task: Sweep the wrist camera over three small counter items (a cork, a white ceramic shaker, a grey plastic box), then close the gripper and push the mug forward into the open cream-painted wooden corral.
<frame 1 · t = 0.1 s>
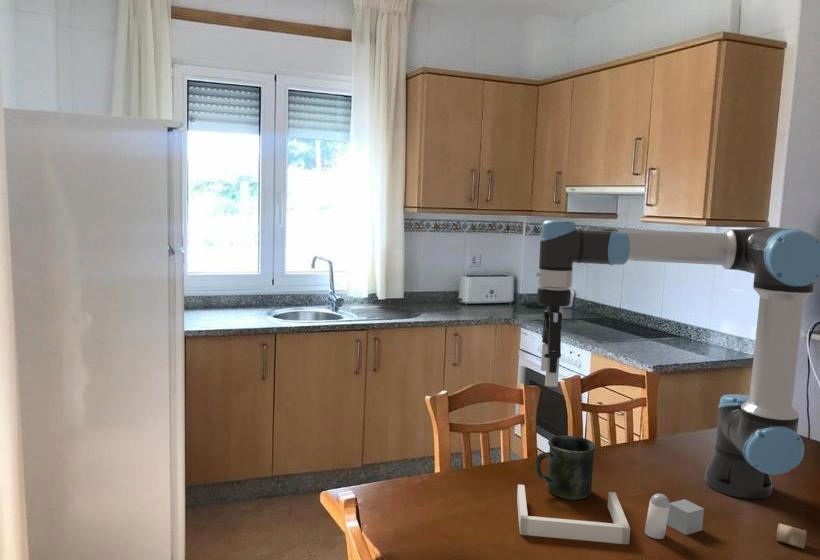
hand: (548, 378, 158), 28 cm above the table, fingers open, 13 cm apart
mug: (562, 492, 163), on the table
grey box: (684, 527, 147), on the table
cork: (777, 531, 143), point 2 cm above the table, tilted 90°
shaker: (654, 533, 143), on the table
corral: (569, 520, 148), on the table
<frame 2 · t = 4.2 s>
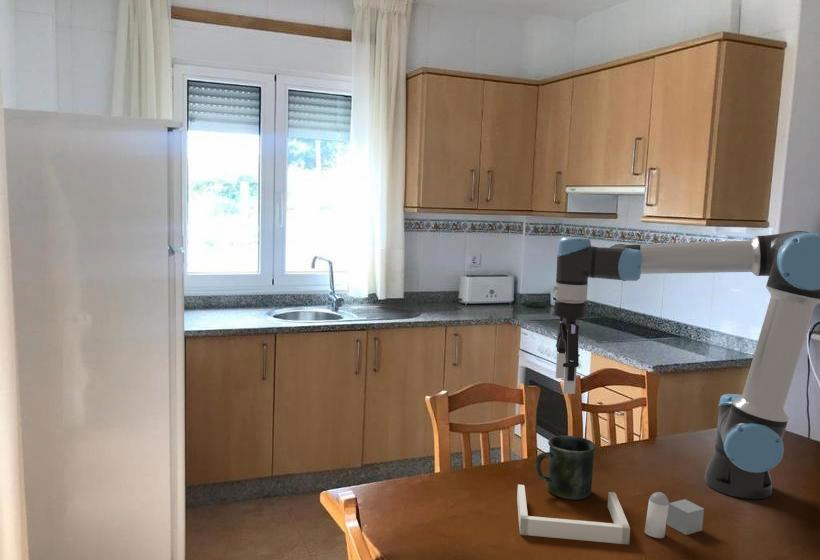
hand: (564, 385, 168), 24 cm above the table, fingers open, 13 cm apart
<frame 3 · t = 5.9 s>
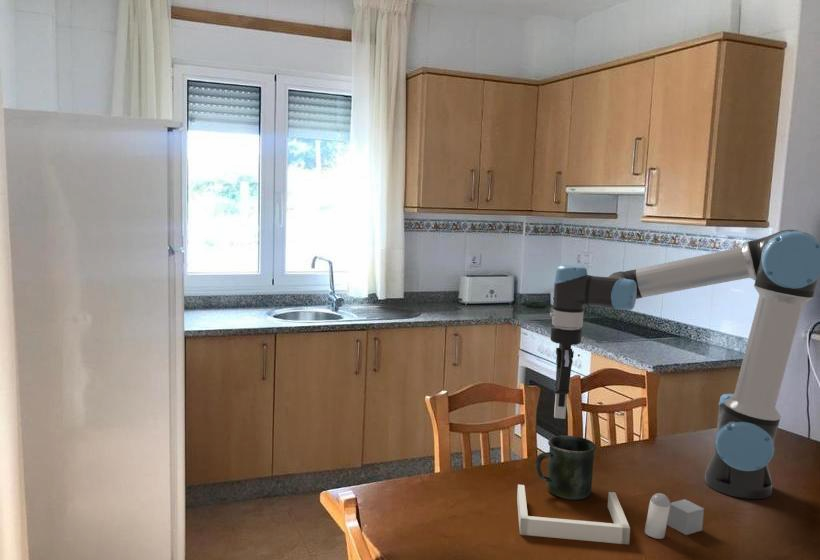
hand: (559, 417, 174), 14 cm above the table, fingers closed
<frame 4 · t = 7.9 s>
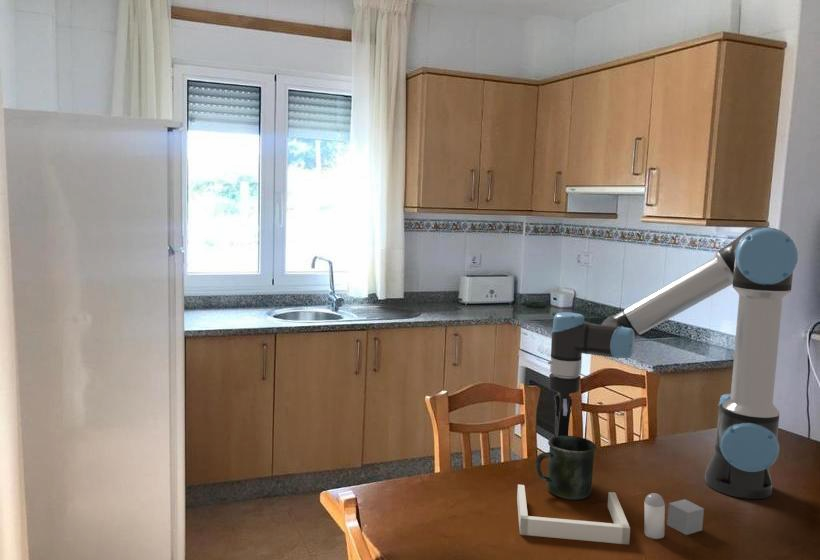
hand: (558, 464, 173), 2 cm above the table, fingers closed
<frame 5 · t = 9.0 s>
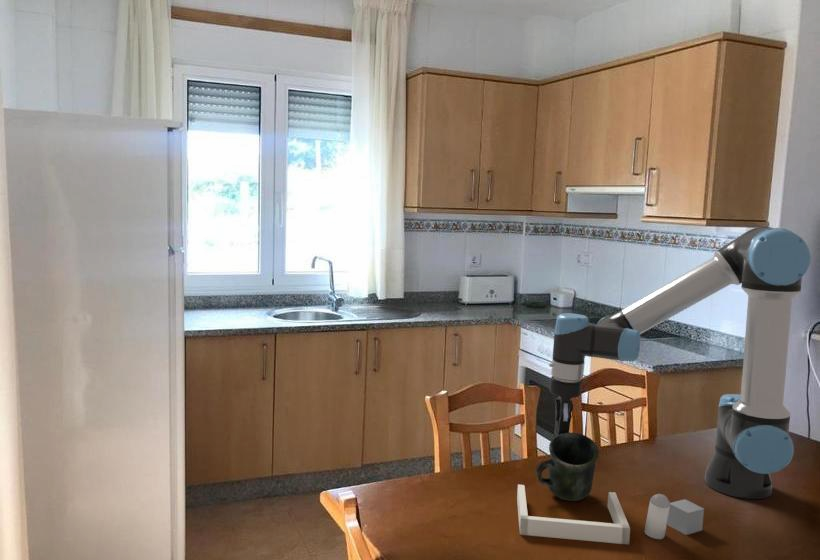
hand: (557, 471, 167), 3 cm above the table, fingers closed
mug: (562, 488, 161), point 1 cm above the table, touching gripper, hand
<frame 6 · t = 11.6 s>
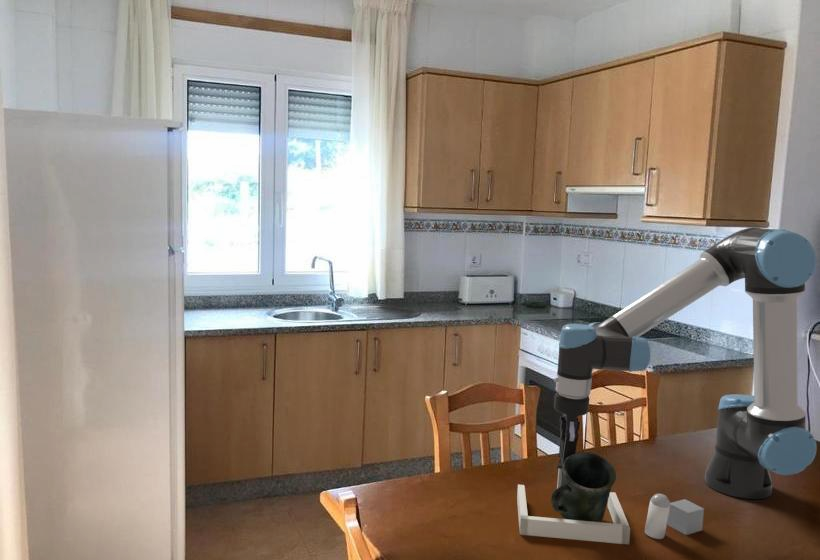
hand: (562, 494, 154), 3 cm above the table, fingers closed
mug: (574, 513, 148), point 1 cm above the table, touching gripper, hand
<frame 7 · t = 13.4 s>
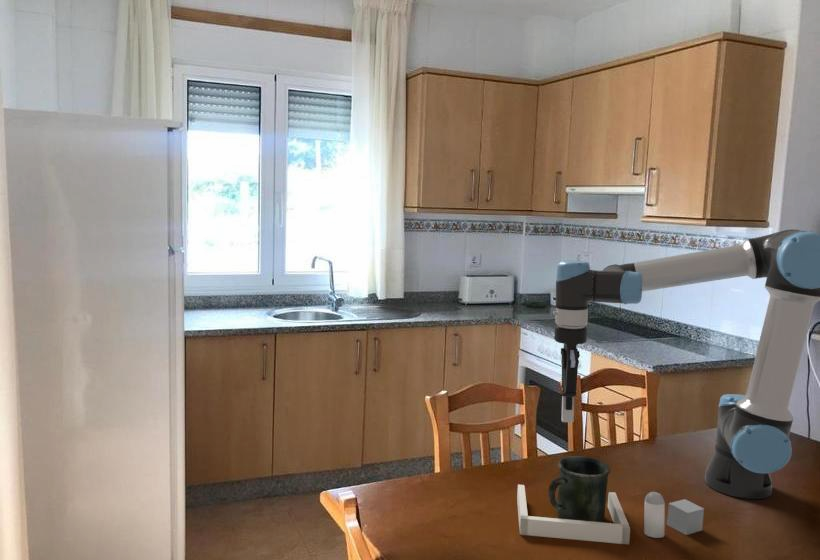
hand: (567, 421, 165), 16 cm above the table, fingers closed
mug: (574, 519, 149), on the table
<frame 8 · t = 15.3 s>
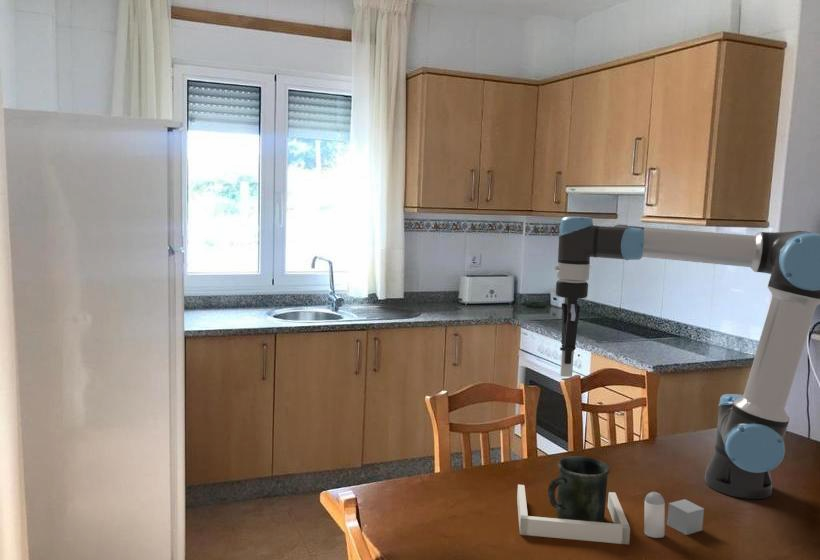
hand: (566, 375, 167), 26 cm above the table, fingers closed
at the end: mug inside the target area on the corral (1.7 cm from its centre), point 0.0 cm above the corral's base; mug tilted 0°; mug moved 13.7 cm from its start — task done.
